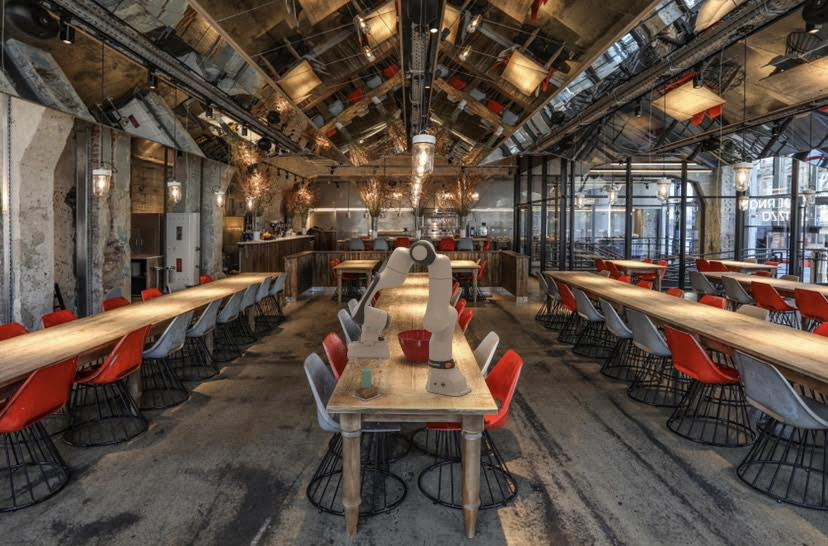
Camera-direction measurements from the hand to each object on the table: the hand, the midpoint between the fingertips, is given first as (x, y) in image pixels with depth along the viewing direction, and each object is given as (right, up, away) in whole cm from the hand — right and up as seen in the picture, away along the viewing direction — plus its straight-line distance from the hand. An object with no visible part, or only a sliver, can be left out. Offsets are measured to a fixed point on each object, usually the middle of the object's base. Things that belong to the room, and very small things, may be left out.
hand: (367, 367), depth 234 cm
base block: (0, -12, -6) cm, 13 cm away
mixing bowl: (+26, -6, +54) cm, 61 cm away
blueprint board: (0, -12, -6) cm, 14 cm away
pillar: (0, -8, -6) cm, 10 cm away
